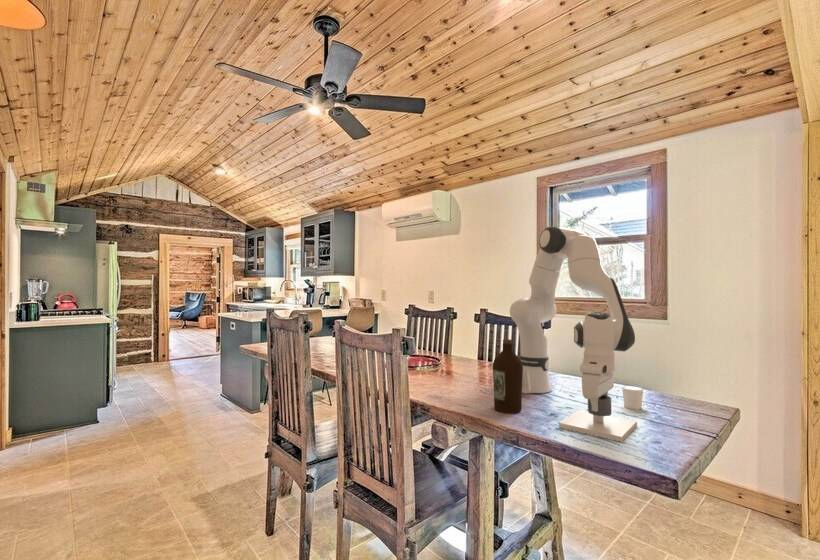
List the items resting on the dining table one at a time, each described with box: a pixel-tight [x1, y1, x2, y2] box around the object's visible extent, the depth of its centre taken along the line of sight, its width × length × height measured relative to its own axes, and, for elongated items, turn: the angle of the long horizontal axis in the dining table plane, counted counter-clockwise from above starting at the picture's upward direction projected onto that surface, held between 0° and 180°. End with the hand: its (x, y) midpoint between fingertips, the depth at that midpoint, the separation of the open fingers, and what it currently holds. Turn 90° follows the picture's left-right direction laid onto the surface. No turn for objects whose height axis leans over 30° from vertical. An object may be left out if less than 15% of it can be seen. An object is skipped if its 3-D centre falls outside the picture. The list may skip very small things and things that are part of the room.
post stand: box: [558, 409, 638, 443], centre depth 129 cm, size 18×18×6 cm
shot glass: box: [621, 385, 644, 410], centre depth 150 cm, size 7×7×7 cm
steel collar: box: [587, 395, 612, 416], centre depth 129 cm, size 7×7×5 cm
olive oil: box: [492, 338, 523, 414], centre depth 147 cm, size 11×11×25 cm
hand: (599, 407), depth 129 cm, fingers closed on steel collar, 7 cm apart
